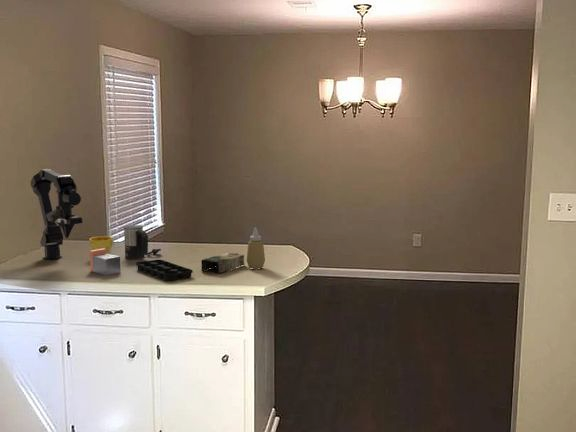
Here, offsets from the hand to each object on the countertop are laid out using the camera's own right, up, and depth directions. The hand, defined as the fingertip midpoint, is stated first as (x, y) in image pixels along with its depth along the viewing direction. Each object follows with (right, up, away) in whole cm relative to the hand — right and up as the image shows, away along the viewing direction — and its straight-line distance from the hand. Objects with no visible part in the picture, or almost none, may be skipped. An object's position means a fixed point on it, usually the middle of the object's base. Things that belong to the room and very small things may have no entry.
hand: (66, 237), depth 305 cm
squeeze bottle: (+85, -13, -9) cm, 87 cm away
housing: (+22, -14, -15) cm, 30 cm away
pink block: (+21, -14, -14) cm, 28 cm away
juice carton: (+72, -14, -9) cm, 73 cm away
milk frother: (+31, -10, +18) cm, 37 cm away
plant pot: (+12, -10, +12) cm, 20 cm away
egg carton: (+47, -15, -17) cm, 52 cm away
